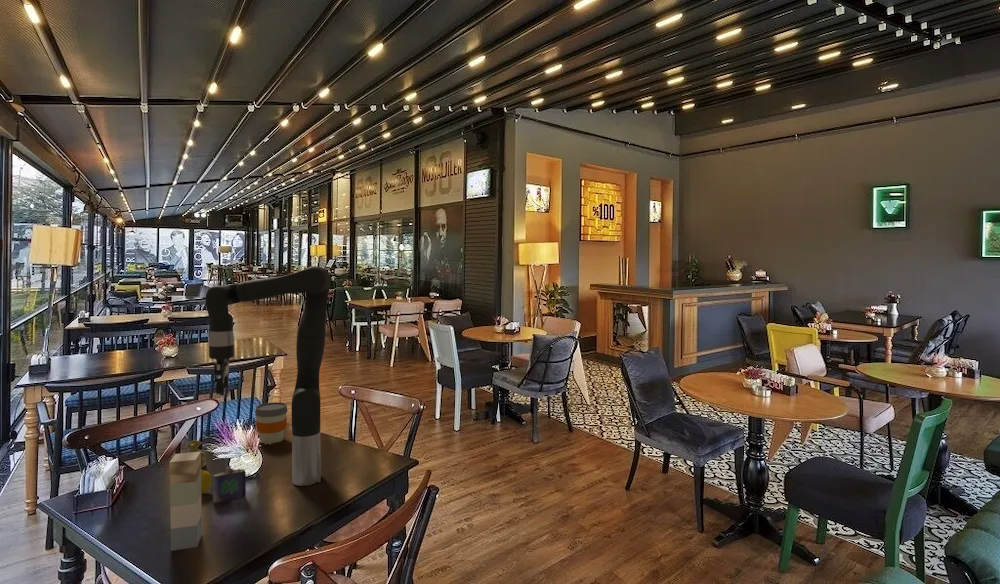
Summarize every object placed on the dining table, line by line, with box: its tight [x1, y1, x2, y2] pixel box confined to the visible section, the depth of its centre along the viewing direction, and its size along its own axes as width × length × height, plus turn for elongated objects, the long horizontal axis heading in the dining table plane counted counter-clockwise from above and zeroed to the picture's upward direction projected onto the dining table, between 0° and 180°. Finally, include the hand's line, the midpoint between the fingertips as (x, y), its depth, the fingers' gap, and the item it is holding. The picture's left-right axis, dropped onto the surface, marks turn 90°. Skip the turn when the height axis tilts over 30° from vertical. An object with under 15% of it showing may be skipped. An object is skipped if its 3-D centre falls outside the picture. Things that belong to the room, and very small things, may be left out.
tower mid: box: [169, 494, 203, 530], centre depth 135 cm, size 6×6×6 cm
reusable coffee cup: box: [254, 401, 288, 445], centre depth 212 cm, size 13×13×15 cm
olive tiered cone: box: [185, 439, 207, 469], centre depth 184 cm, size 7×8×10 cm
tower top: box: [169, 474, 202, 508], centre depth 134 cm, size 6×6×6 cm
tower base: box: [170, 514, 203, 552], centre depth 135 cm, size 6×6×6 cm
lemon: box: [201, 469, 213, 495], centre depth 163 cm, size 6×6×8 cm
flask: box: [212, 465, 247, 504], centre depth 160 cm, size 9×3×11 cm, turn 121°
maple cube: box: [168, 452, 202, 486], centre depth 134 cm, size 6×6×6 cm
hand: (222, 390), depth 171 cm, fingers open, 8 cm apart
